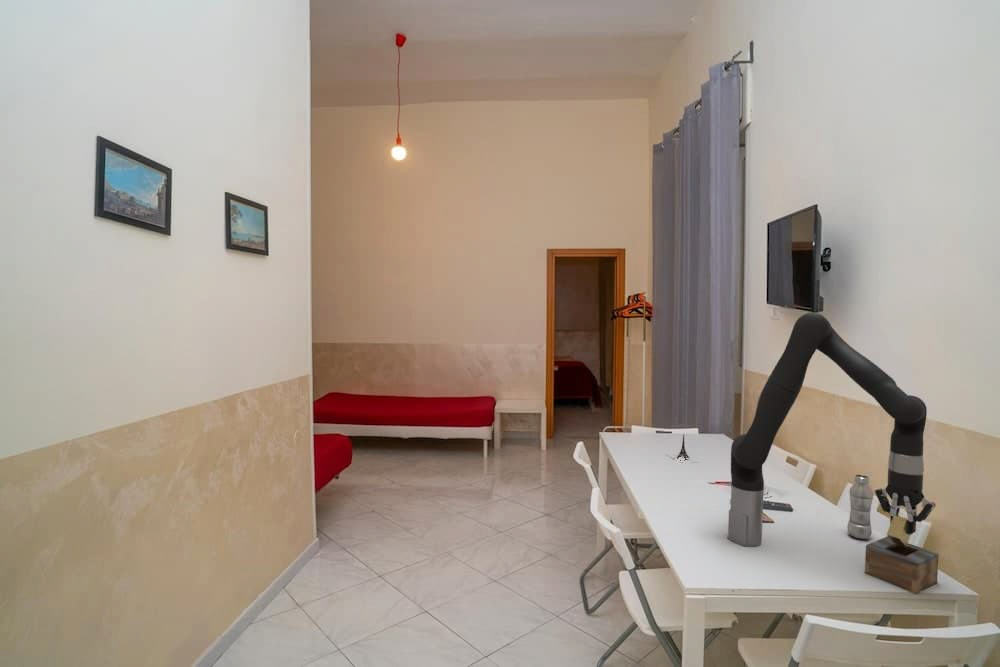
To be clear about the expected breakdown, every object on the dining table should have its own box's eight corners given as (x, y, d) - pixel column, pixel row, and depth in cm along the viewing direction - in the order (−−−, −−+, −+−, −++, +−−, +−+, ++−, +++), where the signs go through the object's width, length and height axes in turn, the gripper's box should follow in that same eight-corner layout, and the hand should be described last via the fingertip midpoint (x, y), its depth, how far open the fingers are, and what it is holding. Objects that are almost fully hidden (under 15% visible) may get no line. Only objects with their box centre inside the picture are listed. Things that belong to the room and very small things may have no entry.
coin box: (915, 594, 133) (917, 563, 133) (864, 573, 143) (865, 545, 143) (937, 582, 139) (938, 553, 138) (886, 563, 149) (887, 536, 149)
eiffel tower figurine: (665, 455, 261) (666, 429, 260) (684, 455, 262) (685, 429, 261) (679, 464, 246) (680, 436, 245) (699, 463, 247) (700, 436, 246)
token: (899, 538, 137) (906, 518, 138) (886, 534, 139) (894, 514, 141) (906, 547, 139) (913, 527, 140) (893, 542, 141) (900, 523, 143)
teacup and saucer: (744, 494, 206) (745, 484, 205) (751, 489, 211) (752, 479, 211) (768, 500, 199) (768, 490, 199) (775, 495, 205) (775, 485, 205)
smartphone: (754, 505, 192) (775, 522, 177) (754, 507, 192) (775, 524, 177) (734, 504, 192) (753, 521, 177) (734, 506, 192) (753, 523, 177)
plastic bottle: (842, 535, 168) (845, 475, 167) (853, 531, 171) (856, 472, 170) (864, 543, 162) (867, 480, 161) (875, 539, 165) (878, 477, 164)
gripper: (869, 464, 144) (867, 525, 145) (930, 478, 132) (927, 544, 133) (883, 460, 148) (880, 519, 149) (943, 474, 136) (940, 538, 136)
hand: (902, 531), depth 141 cm, fingers closed on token, 2 cm apart
